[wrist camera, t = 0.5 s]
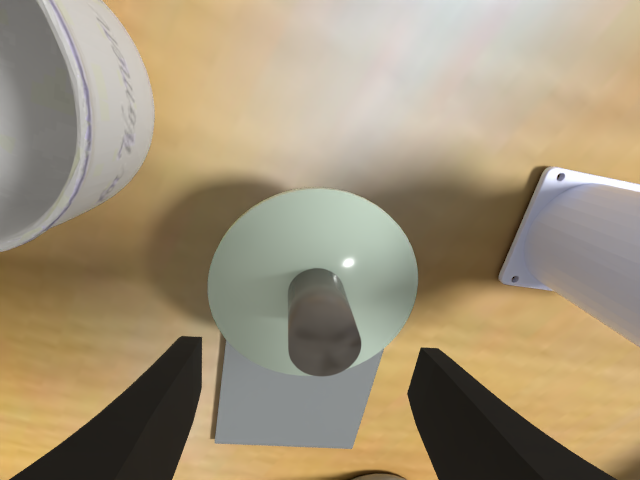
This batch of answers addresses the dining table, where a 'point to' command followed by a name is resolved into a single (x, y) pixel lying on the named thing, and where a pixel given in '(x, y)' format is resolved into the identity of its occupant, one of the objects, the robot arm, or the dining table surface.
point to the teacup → (66, 113)
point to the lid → (312, 281)
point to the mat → (291, 404)
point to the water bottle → (379, 477)
